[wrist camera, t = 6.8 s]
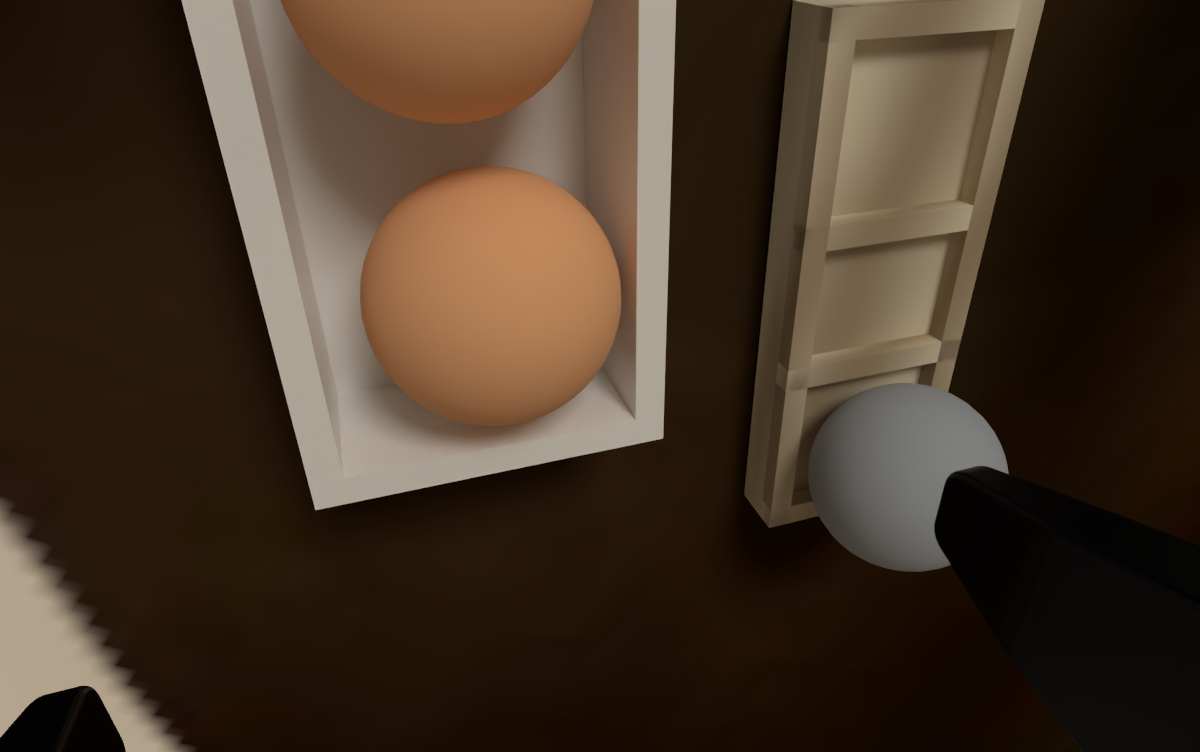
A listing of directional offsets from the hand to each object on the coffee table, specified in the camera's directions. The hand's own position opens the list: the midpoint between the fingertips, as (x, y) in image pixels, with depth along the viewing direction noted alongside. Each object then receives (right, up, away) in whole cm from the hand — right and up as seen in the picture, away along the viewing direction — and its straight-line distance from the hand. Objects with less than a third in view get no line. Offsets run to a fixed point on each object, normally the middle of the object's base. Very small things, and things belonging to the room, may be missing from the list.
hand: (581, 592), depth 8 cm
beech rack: (+7, +5, +12) cm, 15 cm away
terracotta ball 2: (-3, +5, +8) cm, 10 cm away
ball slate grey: (+7, +1, +13) cm, 15 cm away
